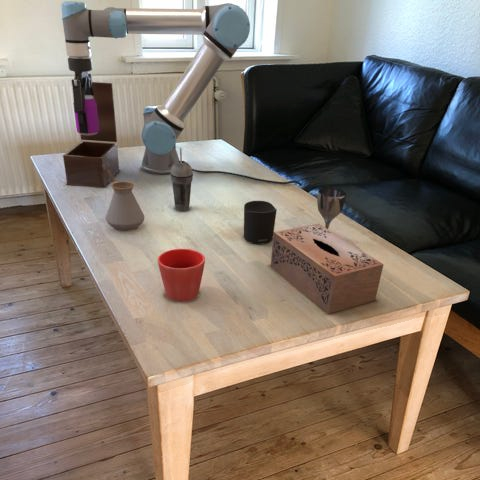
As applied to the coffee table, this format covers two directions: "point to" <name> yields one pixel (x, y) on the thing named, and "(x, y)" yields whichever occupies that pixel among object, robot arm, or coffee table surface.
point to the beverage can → (89, 116)
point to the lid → (104, 113)
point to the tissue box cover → (325, 267)
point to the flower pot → (181, 273)
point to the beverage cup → (181, 184)
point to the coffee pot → (123, 206)
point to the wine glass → (330, 203)
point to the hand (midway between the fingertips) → (87, 129)
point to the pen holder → (259, 222)
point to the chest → (91, 163)
